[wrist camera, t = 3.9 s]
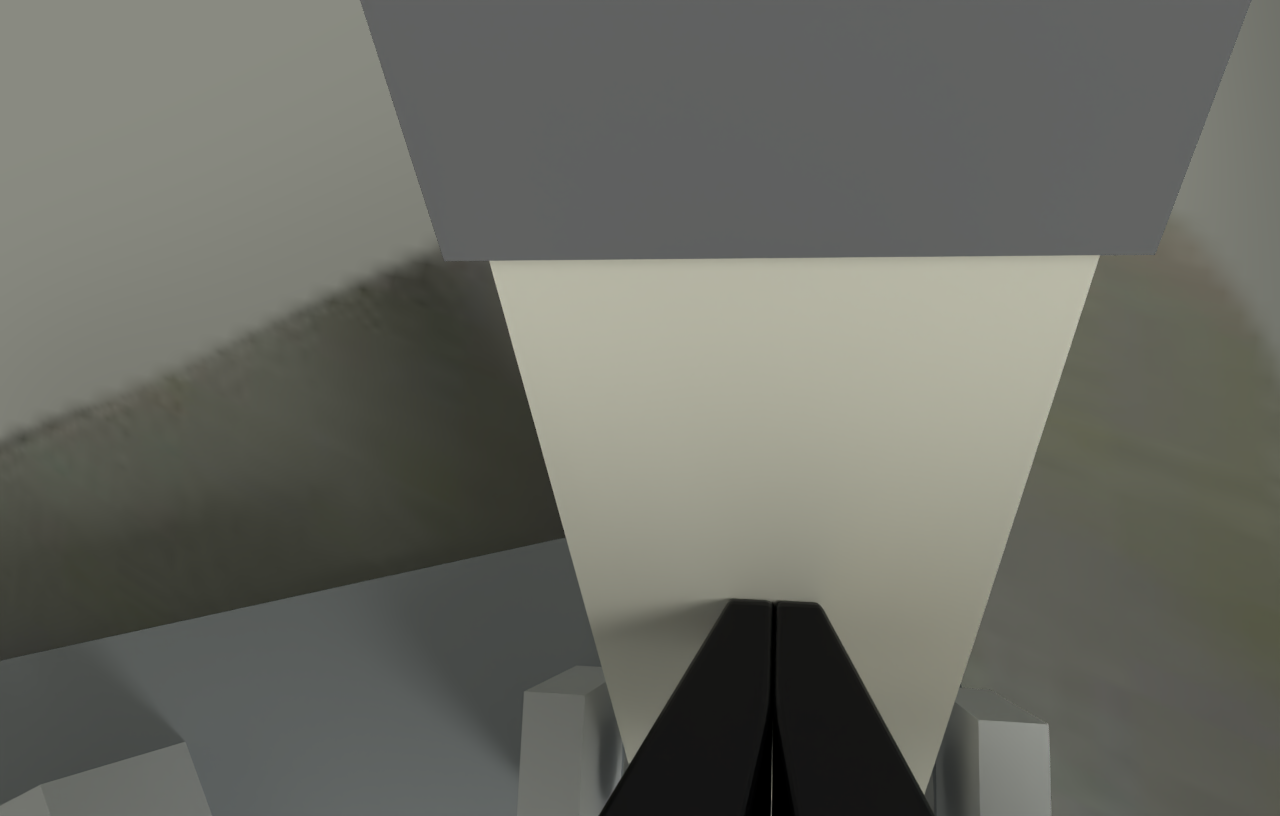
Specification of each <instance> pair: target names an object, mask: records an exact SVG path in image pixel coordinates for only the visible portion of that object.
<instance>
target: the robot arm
mask: <svg viewBox="0 0 1280 816" xmlns="http://www.w3.org/2000/svg"><path fill="white" fill-rule="evenodd" d="M772 733H773V734H772ZM771 794H772V816H935V814H934V812H933V810H932V808H931V806H930V805H929V803H928V801H927V799H926V797H925V795H924V793H923V792H922V790H921V788H920V786H919V784H918V782H917V781H916V779H915V777H914V775H913V773H912V771H911V770H910V768H909V766H908V764H907V762H906V760H905V758H904V757H903V755H902V753H901V751H900V749H899V747H898V746H897V744H896V742H895V740H894V738H893V736H892V734H891V733H890V731H889V729H888V727H887V725H886V723H885V722H884V720H883V718H882V716H881V714H880V712H879V710H878V709H877V707H876V705H875V703H874V701H873V699H872V698H871V696H870V694H869V692H868V690H867V688H866V686H865V685H864V683H863V681H862V679H861V677H860V675H859V674H858V672H857V670H856V668H855V666H854V664H853V663H852V661H851V659H850V657H849V655H848V653H847V651H846V650H845V648H844V646H843V644H842V642H841V640H840V639H839V637H838V635H837V633H836V631H835V629H834V627H833V626H832V624H831V622H830V620H829V618H828V616H827V615H826V613H825V611H824V609H823V608H822V607H821V605H820V604H818V603H816V602H797V601H780V602H777V603H776V605H775V615H774V605H773V603H772V602H770V601H767V600H752V599H732V600H730V601H729V602H728V603H727V604H726V606H725V607H724V609H723V610H722V612H721V614H720V615H719V617H718V619H717V620H716V622H715V624H714V625H713V627H712V629H711V630H710V632H709V633H708V635H707V637H706V638H705V640H704V642H703V643H702V645H701V647H700V648H699V650H698V652H697V653H696V655H695V657H694V658H693V660H692V662H691V663H690V665H689V667H688V668H687V670H686V671H685V673H684V675H683V676H682V678H681V680H680V681H679V683H678V685H677V686H676V688H675V690H674V691H673V693H672V695H671V696H670V698H669V700H668V701H667V703H666V705H665V706H664V708H663V710H662V711H661V713H660V714H659V716H658V718H657V719H656V721H655V723H654V724H653V726H652V728H651V729H650V731H649V733H648V734H647V736H646V738H645V739H644V741H643V743H642V744H641V746H640V748H639V749H638V751H637V753H636V754H635V756H634V757H633V759H632V761H631V762H630V764H629V766H628V767H627V769H626V771H625V772H624V774H623V776H622V777H621V779H620V781H619V782H618V784H617V786H616V787H615V789H614V791H613V792H612V794H611V795H610V797H609V799H608V800H607V802H606V804H605V805H604V807H603V809H602V810H601V812H600V814H599V815H598V816H771Z"/></svg>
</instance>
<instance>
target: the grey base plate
mask: <svg viewBox="0 0 1280 816" xmlns="http://www.w3.org/2000/svg"><path fill="white" fill-rule="evenodd" d="M624 754H625V749H624V745H623V742H622V738H621V735H620V731H619V727H618V724H617V720H616V717H615V713H614V709H613V706H612V702H611V699H610V695H609V691H608V688H607V684H606V680H605V677H604V673H603V670H602V666H601V662H600V659H599V655H598V652H597V648H596V644H595V641H594V637H593V634H592V630H591V626H590V623H589V619H588V616H587V612H586V608H585V605H584V601H583V597H582V594H581V590H580V587H579V583H578V579H577V576H576V572H575V569H574V565H573V561H572V558H571V554H570V551H569V547H568V543H567V540H566V537H565V538H560V539H556V540H551V541H546V542H542V543H537V544H533V545H528V546H523V547H519V548H514V549H510V550H505V551H501V552H496V553H491V554H487V555H482V556H478V557H473V558H468V559H464V560H459V561H455V562H450V563H446V564H441V565H436V566H432V567H427V568H423V569H418V570H414V571H409V572H404V573H400V574H395V575H391V576H386V577H381V578H377V579H372V580H368V581H363V582H359V583H354V584H349V585H345V586H340V587H336V588H331V589H326V590H322V591H317V592H313V593H308V594H304V595H299V596H294V597H290V598H285V599H281V600H276V601H271V602H267V603H262V604H258V605H253V606H249V607H244V608H239V609H235V610H230V611H226V612H221V613H216V614H212V615H207V616H203V617H198V618H194V619H189V620H184V621H180V622H175V623H171V624H166V625H161V626H157V627H152V628H148V629H143V630H139V631H134V632H129V633H125V634H120V635H116V636H111V637H106V638H102V639H97V640H93V641H88V642H84V643H79V644H74V645H70V646H65V647H61V648H56V649H51V650H47V651H42V652H38V653H33V654H29V655H24V656H19V657H15V658H10V659H6V660H1V661H0V816H598V815H599V814H600V812H601V810H602V809H603V807H604V805H605V804H606V802H607V800H608V799H609V797H610V795H611V794H612V792H613V791H614V789H615V787H616V786H617V784H618V782H619V781H620V779H621V777H622V776H623V765H624ZM932 774H933V792H934V814H935V816H1051V782H1050V748H1049V724H1047V723H1046V722H1044V721H1042V720H1041V719H1039V718H1037V717H1036V716H1034V715H1032V714H1031V713H1029V712H1027V711H1025V710H1024V709H1022V708H1020V707H1019V706H1017V705H1015V704H1014V703H1012V702H1010V701H1009V700H1007V699H1005V698H1003V697H1002V696H1000V695H998V694H997V693H995V692H993V691H992V690H990V689H974V688H962V687H961V684H960V687H959V690H958V693H957V696H956V699H955V702H954V705H953V709H952V712H951V715H950V718H949V721H948V724H947V727H946V730H945V733H944V736H943V739H942V742H941V745H940V749H939V752H938V755H937V758H936V761H935V764H934V767H933V770H932Z"/></svg>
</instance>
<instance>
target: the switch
mask: <svg viewBox="0 0 1280 816" xmlns="http://www.w3.org/2000/svg"><path fill="white" fill-rule="evenodd" d="M360 1H361V4H362V7H363V11H364V14H365V17H366V20H367V23H368V26H369V29H370V32H371V35H372V39H373V42H374V45H375V48H376V51H377V54H378V57H379V60H380V63H381V67H382V69H383V73H384V76H385V79H386V82H387V85H388V88H389V91H390V94H391V98H392V101H393V103H394V107H395V110H396V113H397V116H398V119H399V122H400V125H401V129H402V132H403V135H404V138H405V141H406V144H407V147H408V150H409V153H410V157H411V160H412V163H413V166H414V169H415V172H416V175H417V178H418V181H419V184H420V188H421V191H422V194H423V197H424V200H425V203H426V206H427V209H428V213H429V216H430V218H431V222H432V225H433V228H434V231H435V234H436V237H437V241H438V244H439V247H440V250H441V253H442V256H443V259H444V261H489V262H490V265H491V269H492V273H493V276H494V280H495V283H496V287H497V291H498V294H499V298H500V302H501V305H502V309H503V312H504V316H505V320H506V323H507V327H508V330H509V334H510V338H511V341H512V345H513V348H514V352H515V356H516V359H517V363H518V366H519V370H520V374H521V377H522V381H523V385H524V388H525V392H526V395H527V399H528V403H529V406H530V410H531V413H532V417H533V421H534V424H535V428H536V431H537V435H538V439H539V442H540V446H541V449H542V453H543V457H544V460H545V464H546V468H547V471H548V475H549V478H550V482H551V486H552V489H553V493H554V496H555V500H556V504H557V507H558V511H559V514H560V518H561V522H562V525H563V529H564V533H565V536H566V540H567V543H568V547H569V551H570V554H571V558H572V561H573V565H574V569H575V572H576V576H577V579H578V583H579V587H580V590H581V594H582V597H583V601H584V605H585V608H586V612H587V616H588V619H589V623H590V626H591V630H592V634H593V637H594V641H595V644H596V648H597V652H598V655H599V659H600V662H601V666H602V670H603V673H604V677H605V680H606V684H607V688H608V691H609V695H610V699H611V702H612V706H613V709H614V713H615V717H616V720H617V724H618V727H619V731H620V735H621V738H622V742H623V745H624V749H625V754H624V765H623V774H624V772H625V771H626V769H627V767H628V766H629V764H630V762H631V761H632V759H633V757H634V756H635V754H636V753H637V751H638V749H639V748H640V746H641V744H642V743H643V741H644V739H645V738H646V736H647V734H648V733H649V731H650V729H651V728H652V726H653V724H654V723H655V721H656V719H657V718H658V716H659V714H660V713H661V711H662V710H663V708H664V706H665V705H666V703H667V701H668V700H669V698H670V696H671V695H672V693H673V691H674V690H675V688H676V686H677V685H678V683H679V681H680V680H681V678H682V676H683V675H684V673H685V671H686V670H687V668H688V667H689V665H690V663H691V662H692V660H693V658H694V657H695V655H696V653H697V652H698V650H699V648H700V647H701V645H702V643H703V642H704V640H705V638H706V637H707V635H708V633H709V632H710V630H711V629H712V627H713V625H714V624H715V622H716V620H717V619H718V617H719V615H720V614H721V612H722V610H723V609H724V607H725V606H726V604H727V603H728V602H729V601H730V600H732V599H752V600H767V601H770V602H772V603H773V605H774V615H775V605H776V603H777V602H780V601H797V602H816V603H818V604H820V605H821V607H822V608H823V609H824V611H825V613H826V615H827V616H828V618H829V620H830V622H831V624H832V626H833V627H834V629H835V631H836V633H837V635H838V637H839V639H840V640H841V642H842V644H843V646H844V648H845V650H846V651H847V653H848V655H849V657H850V659H851V661H852V663H853V664H854V666H855V668H856V670H857V672H858V674H859V675H860V677H861V679H862V681H863V683H864V685H865V686H866V688H867V690H868V692H869V694H870V696H871V698H872V699H873V701H874V703H875V705H876V707H877V709H878V710H879V712H880V714H881V716H882V718H883V720H884V722H885V723H886V725H887V727H888V729H889V731H890V733H891V734H892V736H893V738H894V740H895V742H896V744H897V746H898V747H899V749H900V751H901V753H902V755H903V757H904V758H905V760H906V762H907V764H908V766H909V768H910V770H911V771H912V773H913V775H914V777H915V779H916V781H917V782H918V784H919V786H920V788H921V790H922V792H923V793H924V795H925V797H926V799H927V801H928V803H929V805H930V806H931V808H932V810H933V812H934V792H933V774H932V770H933V767H934V764H935V761H936V758H937V755H938V752H939V749H940V745H941V742H942V739H943V736H944V733H945V730H946V727H947V724H948V721H949V718H950V715H951V712H952V709H953V705H954V702H955V699H956V696H957V693H958V690H959V687H960V684H961V681H962V678H963V675H964V672H965V669H966V665H967V662H968V659H969V656H970V653H971V650H972V647H973V644H974V641H975V638H976V635H977V632H978V629H979V626H980V622H981V619H982V616H983V613H984V610H985V607H986V604H987V601H988V598H989V595H990V592H991V589H992V586H993V582H994V579H995V576H996V573H997V570H998V567H999V564H1000V561H1001V558H1002V555H1003V552H1004V549H1005V546H1006V542H1007V539H1008V536H1009V533H1010V530H1011V527H1012V524H1013V521H1014V518H1015V515H1016V512H1017V509H1018V506H1019V503H1020V499H1021V496H1022V493H1023V490H1024V487H1025V484H1026V481H1027V478H1028V475H1029V472H1030V469H1031V466H1032V463H1033V459H1034V456H1035V453H1036V450H1037V447H1038V444H1039V441H1040V438H1041V435H1042V432H1043V429H1044V426H1045V423H1046V419H1047V416H1048V413H1049V410H1050V407H1051V404H1052V401H1053V398H1054V395H1055V392H1056V389H1057V386H1058V383H1059V380H1060V376H1061V373H1062V370H1063V367H1064V364H1065V361H1066V358H1067V355H1068V352H1069V349H1070V346H1071V343H1072V340H1073V336H1074V333H1075V330H1076V327H1077V324H1078V321H1079V318H1080V315H1081V312H1082V309H1083V306H1084V303H1085V300H1086V296H1087V293H1088V290H1089V287H1090V284H1091V281H1092V278H1093V275H1094V272H1095V269H1096V266H1097V263H1098V260H1099V257H1100V255H1155V253H1156V251H1157V248H1158V245H1159V243H1160V240H1161V237H1162V235H1163V232H1164V230H1165V227H1166V224H1167V222H1168V219H1169V216H1170V214H1171V211H1172V208H1173V206H1174V203H1175V201H1176V198H1177V195H1178V193H1179V190H1180V187H1181V184H1182V182H1183V179H1184V177H1185V174H1186V171H1187V169H1188V166H1189V163H1190V161H1191V158H1192V156H1193V153H1194V150H1195V148H1196V145H1197V142H1198V140H1199V137H1200V135H1201V132H1202V129H1203V127H1204V124H1205V121H1206V118H1207V116H1208V113H1209V111H1210V108H1211V106H1212V103H1213V100H1214V98H1215V95H1216V92H1217V90H1218V87H1219V84H1220V82H1221V79H1222V76H1223V74H1224V71H1225V69H1226V66H1227V63H1228V61H1229V58H1230V55H1231V53H1232V50H1233V48H1234V45H1235V42H1236V40H1237V37H1238V34H1239V32H1240V29H1241V26H1242V24H1243V21H1244V18H1245V16H1246V13H1247V11H1248V8H1249V5H1250V3H1251V0H360ZM772 734H773V733H772ZM771 816H772V794H771Z"/></svg>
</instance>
